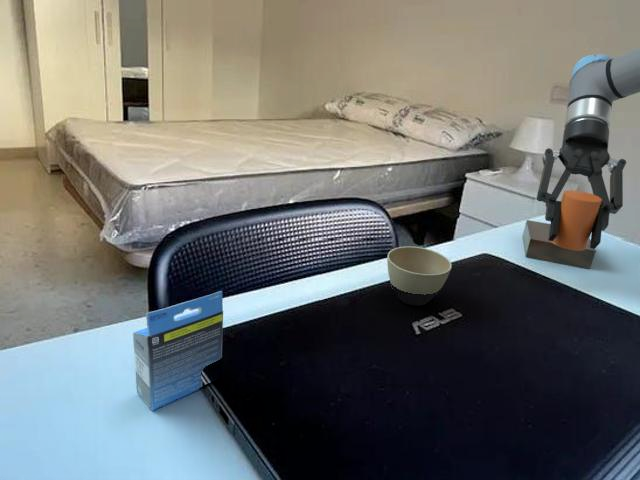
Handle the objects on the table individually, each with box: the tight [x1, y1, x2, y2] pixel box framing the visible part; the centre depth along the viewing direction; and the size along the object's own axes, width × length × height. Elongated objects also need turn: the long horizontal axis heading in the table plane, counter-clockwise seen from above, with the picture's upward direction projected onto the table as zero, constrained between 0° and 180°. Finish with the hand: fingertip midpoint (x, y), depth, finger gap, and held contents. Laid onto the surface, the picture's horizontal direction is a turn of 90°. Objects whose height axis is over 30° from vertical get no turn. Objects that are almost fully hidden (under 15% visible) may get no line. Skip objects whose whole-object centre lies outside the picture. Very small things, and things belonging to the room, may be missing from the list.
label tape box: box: [132, 290, 224, 411], centre depth 55 cm, size 9×4×12 cm, turn 133°
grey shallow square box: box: [522, 219, 596, 270], centre depth 104 cm, size 12×12×4 cm
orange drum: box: [551, 189, 602, 251], centre depth 87 cm, size 6×6×9 cm
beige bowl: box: [386, 245, 453, 295], centre depth 80 cm, size 10×10×7 cm
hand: (573, 241), depth 85 cm, fingers closed on orange drum, 6 cm apart
